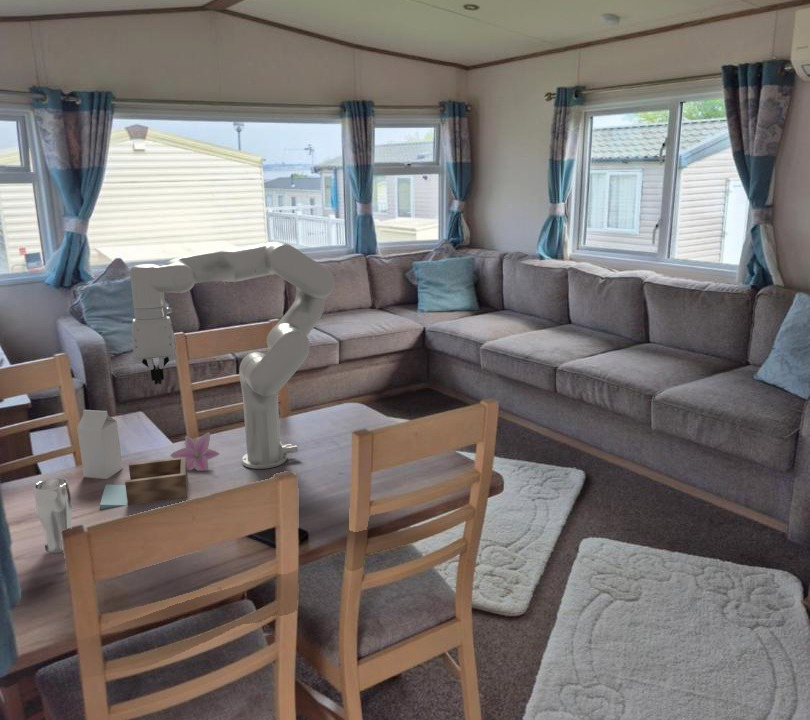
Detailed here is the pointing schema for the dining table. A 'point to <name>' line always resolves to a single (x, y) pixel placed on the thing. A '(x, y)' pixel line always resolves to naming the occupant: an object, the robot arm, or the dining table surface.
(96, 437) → the milk carton
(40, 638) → the dining table surface
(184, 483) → the box
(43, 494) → the beer glass
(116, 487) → the tailgate
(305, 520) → the dining table surface
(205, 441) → the lily
